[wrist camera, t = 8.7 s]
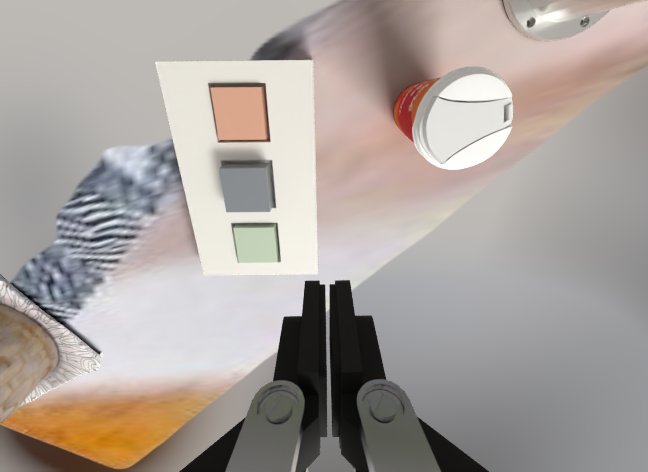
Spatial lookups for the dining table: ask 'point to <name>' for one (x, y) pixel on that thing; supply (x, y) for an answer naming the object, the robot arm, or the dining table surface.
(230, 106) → the terracotta key
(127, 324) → the dining table surface
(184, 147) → the keypad
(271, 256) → the sage key
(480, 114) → the paper cup
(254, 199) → the charcoal key
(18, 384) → the cookie jar
